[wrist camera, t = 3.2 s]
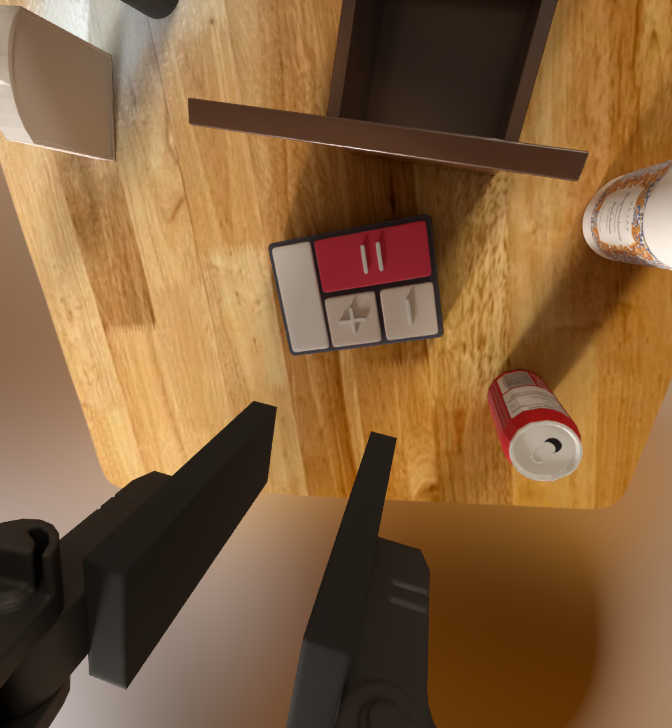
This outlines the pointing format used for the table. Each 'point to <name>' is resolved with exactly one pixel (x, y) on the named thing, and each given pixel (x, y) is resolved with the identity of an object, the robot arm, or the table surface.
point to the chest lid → (391, 139)
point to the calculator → (359, 286)
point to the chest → (439, 67)
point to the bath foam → (633, 218)
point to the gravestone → (54, 87)
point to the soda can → (533, 426)
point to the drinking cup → (153, 7)
